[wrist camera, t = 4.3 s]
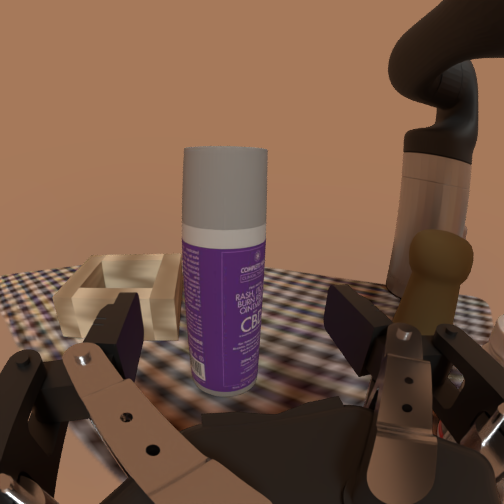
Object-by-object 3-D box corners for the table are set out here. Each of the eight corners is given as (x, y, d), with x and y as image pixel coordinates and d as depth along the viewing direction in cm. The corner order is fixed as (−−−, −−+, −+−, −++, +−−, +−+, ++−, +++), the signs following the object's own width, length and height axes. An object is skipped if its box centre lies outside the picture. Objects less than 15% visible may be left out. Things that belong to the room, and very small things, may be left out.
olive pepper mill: (363, 350, 22) (391, 221, 18) (410, 335, 23) (439, 223, 20) (405, 393, 16) (456, 247, 13) (451, 369, 18) (495, 244, 15)
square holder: (182, 285, 33) (181, 253, 32) (178, 340, 23) (174, 298, 21) (96, 286, 31) (91, 255, 30) (63, 336, 21) (52, 297, 19)
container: (252, 402, 17) (264, 146, 12) (183, 389, 17) (166, 147, 13) (261, 359, 21) (273, 151, 16) (202, 350, 22) (198, 150, 17)
